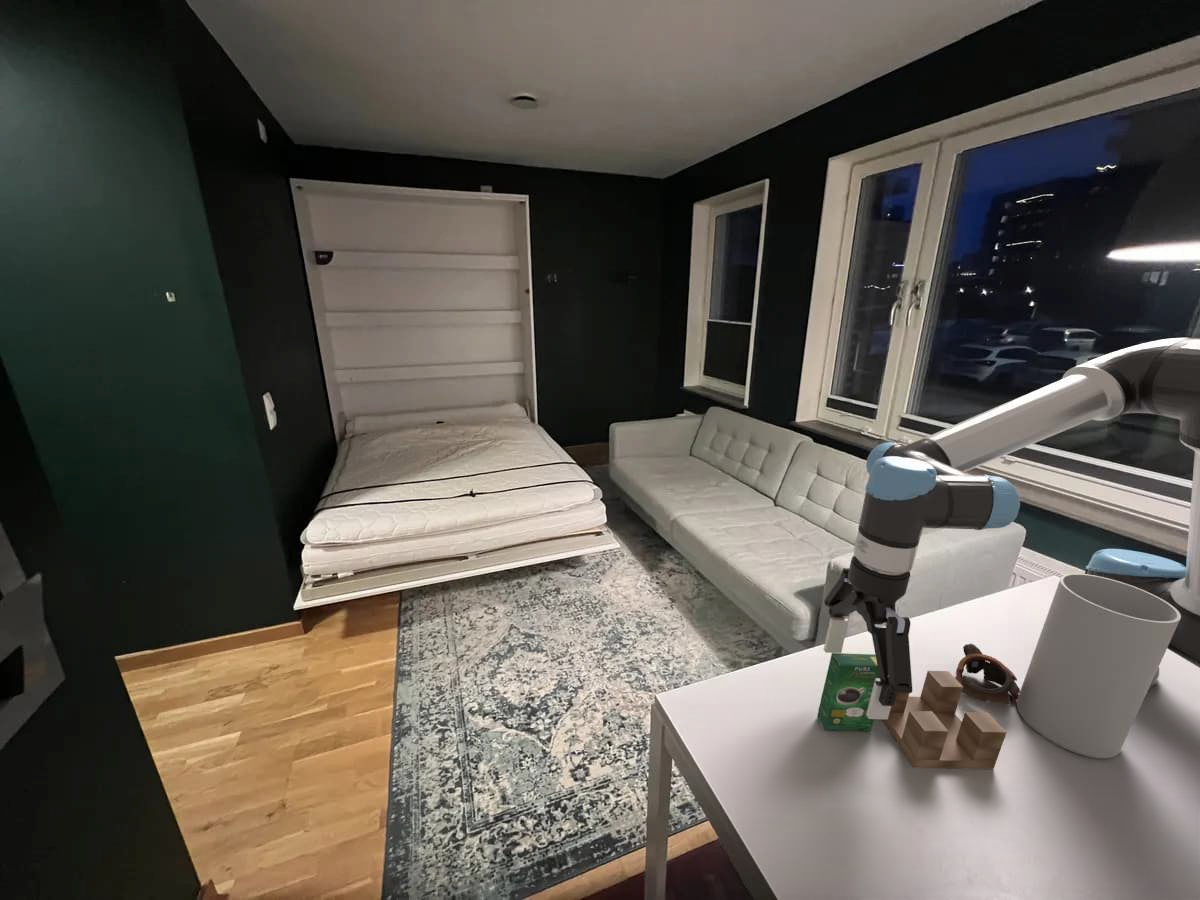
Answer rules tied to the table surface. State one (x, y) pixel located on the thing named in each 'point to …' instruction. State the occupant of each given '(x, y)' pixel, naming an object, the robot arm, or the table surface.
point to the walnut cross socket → (943, 728)
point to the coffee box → (848, 692)
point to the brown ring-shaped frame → (986, 677)
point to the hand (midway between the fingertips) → (852, 681)
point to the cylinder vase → (1095, 663)
